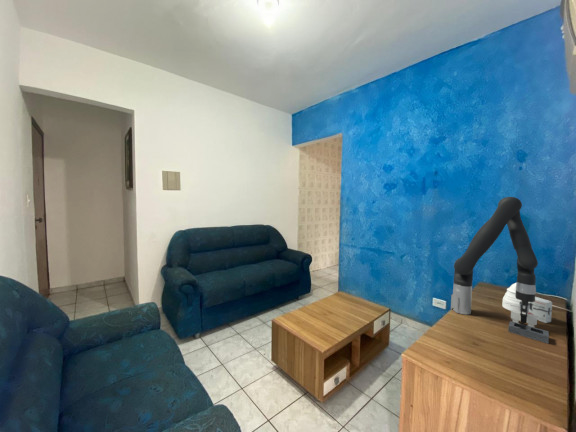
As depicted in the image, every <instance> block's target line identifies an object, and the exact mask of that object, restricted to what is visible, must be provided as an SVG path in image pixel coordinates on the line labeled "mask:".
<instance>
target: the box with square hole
mask: <svg viewBox="0 0 576 432" xmlns="http://www.w3.org/2000/svg"><path fill="white" fill-rule="evenodd" d="M507 332H508V333H511V334H515V335H518V336H522V337H524V338H527V339H531V340H534V341H538V342H540V341H541V343H544V344H549V339H550V334H549V333H550V331H549V330H544V329H541V328H537V327H535V326H534V327H531V326H528V324H525V323H521V322H519V323H516V322H513V320H512V321H511V320H509V324H508V330H507Z"/></svg>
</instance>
